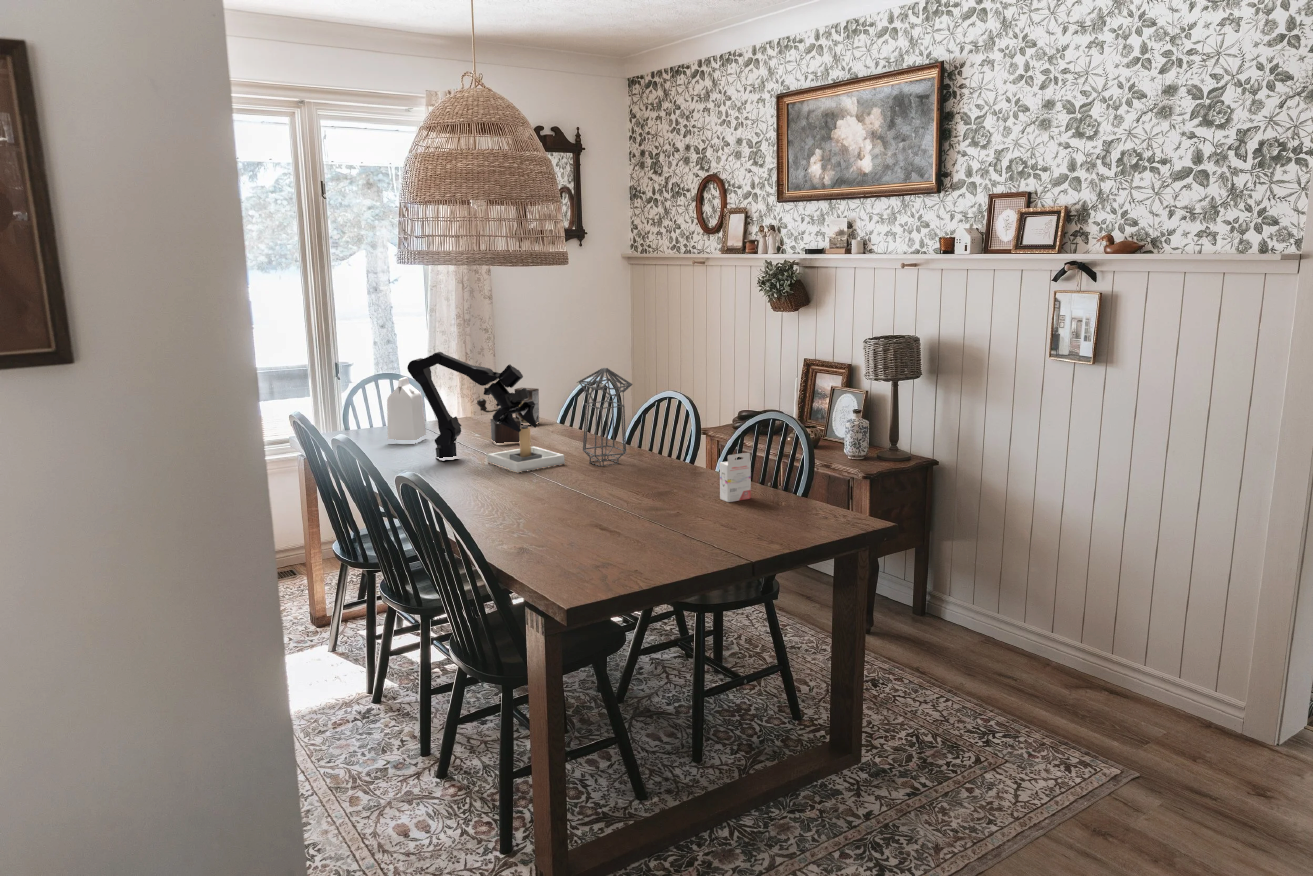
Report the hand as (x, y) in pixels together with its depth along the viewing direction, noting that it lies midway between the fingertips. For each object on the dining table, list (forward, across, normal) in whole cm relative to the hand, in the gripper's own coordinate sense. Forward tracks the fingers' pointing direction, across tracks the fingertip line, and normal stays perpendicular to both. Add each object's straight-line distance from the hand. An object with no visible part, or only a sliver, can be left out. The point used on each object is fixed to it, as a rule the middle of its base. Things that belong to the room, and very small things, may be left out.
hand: (528, 429), depth 326 cm
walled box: (+8, 0, +10) cm, 13 cm away
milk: (-40, +9, +59) cm, 72 cm away
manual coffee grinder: (-15, +25, +33) cm, 44 cm away
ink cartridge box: (+70, -7, -51) cm, 87 cm away
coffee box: (-25, +62, +44) cm, 80 cm away
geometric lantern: (+26, +14, -8) cm, 31 cm away
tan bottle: (+7, 0, +9) cm, 12 cm away
